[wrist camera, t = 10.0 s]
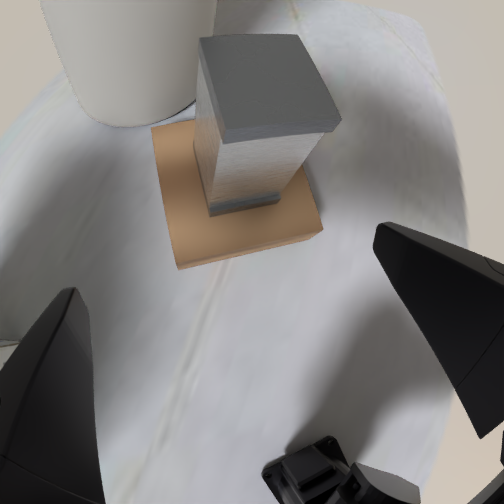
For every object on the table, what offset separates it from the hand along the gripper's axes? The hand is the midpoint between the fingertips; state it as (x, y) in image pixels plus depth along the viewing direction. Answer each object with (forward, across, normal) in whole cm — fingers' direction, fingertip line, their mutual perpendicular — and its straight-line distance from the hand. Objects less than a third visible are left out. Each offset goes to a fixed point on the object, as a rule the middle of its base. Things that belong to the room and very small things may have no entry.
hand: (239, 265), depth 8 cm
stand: (+15, -3, +5) cm, 16 cm away
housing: (+13, -3, +2) cm, 13 cm away
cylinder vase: (+24, +3, -4) cm, 25 cm away
